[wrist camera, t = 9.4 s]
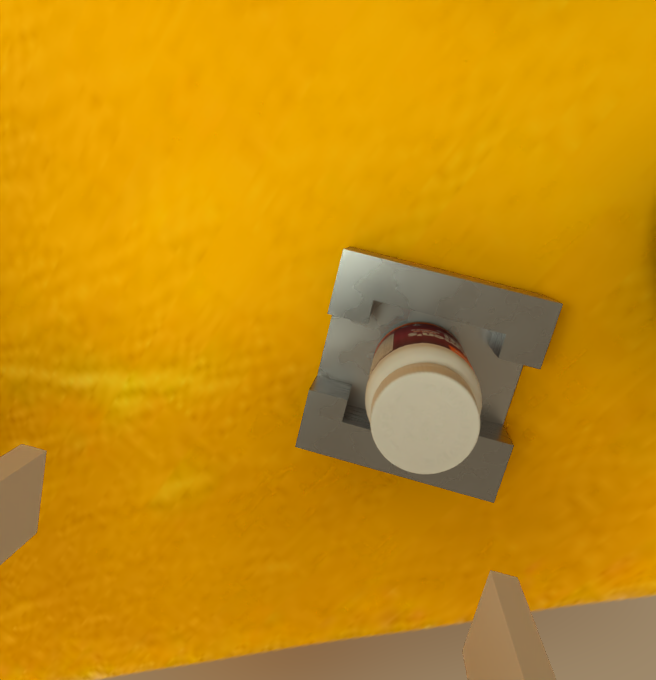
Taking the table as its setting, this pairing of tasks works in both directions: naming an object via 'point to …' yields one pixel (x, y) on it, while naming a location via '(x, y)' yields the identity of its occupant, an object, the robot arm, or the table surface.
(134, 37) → the table surface
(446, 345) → the pill bottle
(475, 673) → the robot arm
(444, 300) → the bracket
